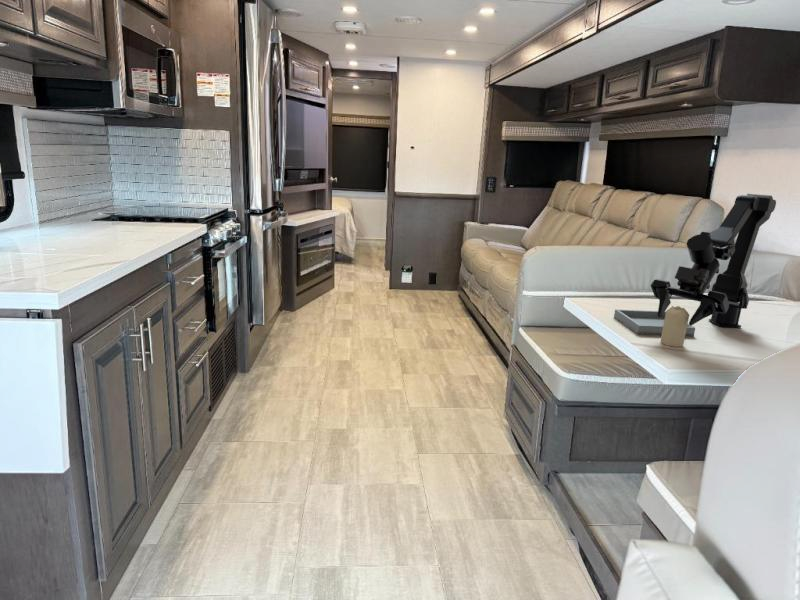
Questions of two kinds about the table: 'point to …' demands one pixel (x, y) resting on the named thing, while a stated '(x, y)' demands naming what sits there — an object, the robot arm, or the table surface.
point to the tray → (645, 322)
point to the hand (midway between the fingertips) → (673, 320)
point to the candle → (675, 326)
